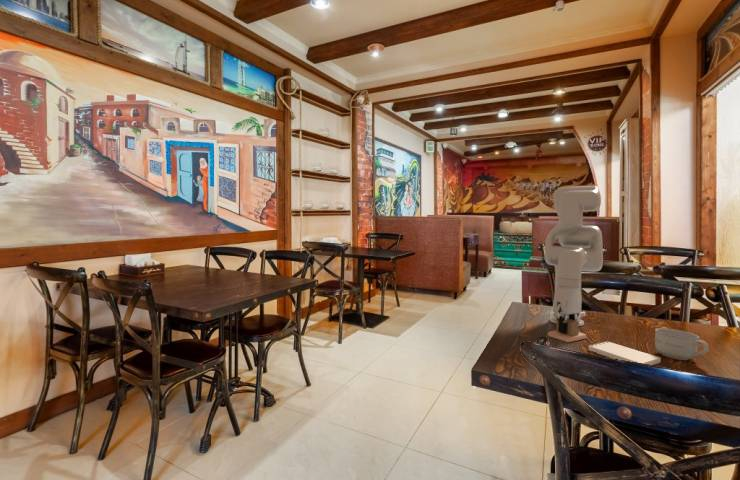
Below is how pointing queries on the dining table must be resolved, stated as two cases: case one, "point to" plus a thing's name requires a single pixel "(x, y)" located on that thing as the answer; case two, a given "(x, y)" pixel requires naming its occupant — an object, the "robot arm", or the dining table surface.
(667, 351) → the teacup
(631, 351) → the ticket pad
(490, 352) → the dining table surface
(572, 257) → the robot arm
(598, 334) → the dining table surface
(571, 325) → the stub
